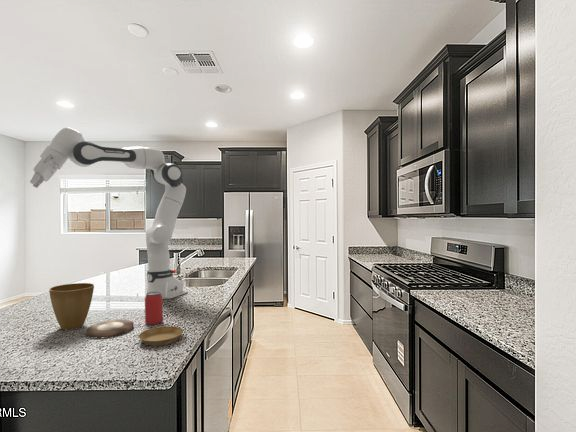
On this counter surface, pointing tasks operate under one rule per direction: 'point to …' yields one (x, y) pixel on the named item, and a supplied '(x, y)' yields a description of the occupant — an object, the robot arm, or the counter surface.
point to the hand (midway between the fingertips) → (33, 185)
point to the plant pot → (71, 304)
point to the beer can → (153, 308)
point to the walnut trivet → (109, 328)
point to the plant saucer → (160, 335)
